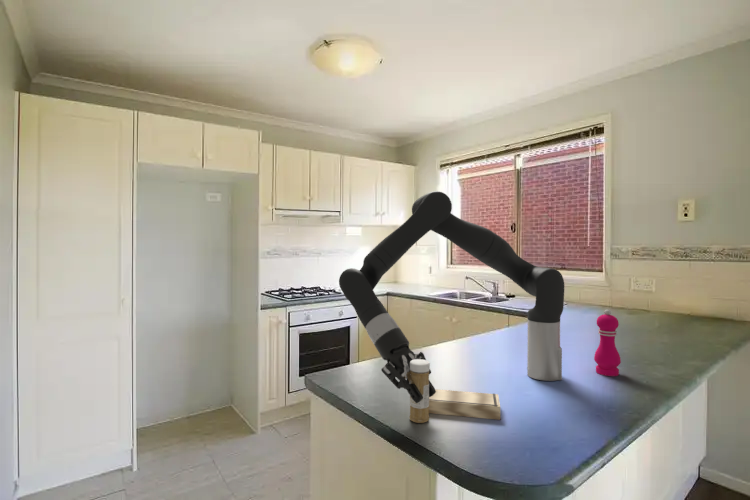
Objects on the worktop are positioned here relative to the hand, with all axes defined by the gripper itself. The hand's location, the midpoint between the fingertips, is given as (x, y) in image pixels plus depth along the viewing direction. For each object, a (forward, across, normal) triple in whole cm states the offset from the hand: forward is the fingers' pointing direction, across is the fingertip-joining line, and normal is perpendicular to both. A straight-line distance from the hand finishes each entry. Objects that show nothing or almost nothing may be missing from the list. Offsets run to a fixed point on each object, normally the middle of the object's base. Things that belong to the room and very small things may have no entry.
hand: (426, 397), depth 91 cm
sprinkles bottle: (+3, 0, +6) cm, 6 cm away
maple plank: (+5, +11, +3) cm, 13 cm away
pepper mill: (+19, +68, -10) cm, 71 cm away
